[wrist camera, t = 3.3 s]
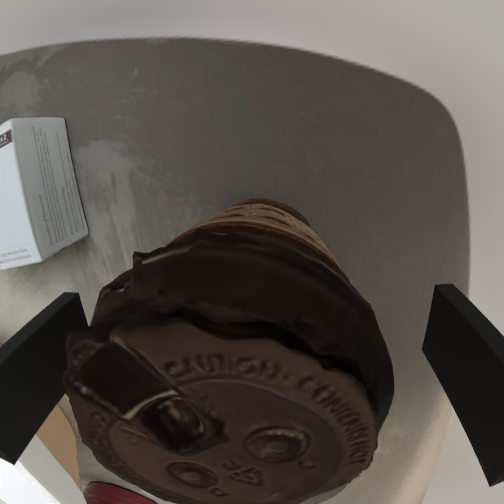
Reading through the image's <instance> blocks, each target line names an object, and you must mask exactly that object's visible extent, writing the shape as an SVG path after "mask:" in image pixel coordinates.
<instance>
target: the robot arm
mask: <svg viewBox="0 0 504 504" xmlns="http://www.w3.org/2000/svg"><path fill="white" fill-rule="evenodd" d="M86 327H88V323H87V320H86V317H85V313H84V310H83V307H82V303H81V300H80V296H79V293H72V292H64V293H63V294H61V295H60V296H59V297H58V298H57V299H55V300H54V301H53V302H52V303H51V304H49V305H48V306H47V307H46V308H45V309H43V310H42V311H41V312H40V313H39V314H38V315H36V316H35V317H34V318H33V319H32V320H31V321H29V322H28V323H27V324H26V325H25V326H24V327H23V328H21V329H20V330H19V331H18V332H17V333H16V334H15V335H14V336H12V337H11V338H10V339H9V340H8V341H7V342H6V343H5V344H4V345H2V346H1V347H0V458H1V459H3V460H5V461H7V462H9V463H11V464H12V465H15V464H16V462H17V461H18V459H19V458H20V456H21V455H22V453H23V452H24V450H25V449H26V447H27V446H28V444H29V443H30V441H31V440H32V439H33V437H34V436H35V434H36V433H37V431H38V430H39V429H40V427H41V426H42V424H43V423H44V421H45V420H46V419H47V417H48V416H49V414H50V413H51V412H52V410H53V409H54V408H55V406H56V405H57V403H58V402H59V401H60V399H61V398H62V397H63V395H64V394H65V388H64V386H63V384H62V379H63V375H64V372H65V371H66V369H67V366H68V363H67V356H66V341H67V336H68V332H69V329H71V330H74V331H77V332H79V331H81V330H82V329H84V328H86ZM422 351H423V353H424V354H425V356H426V358H427V360H428V362H429V363H430V365H431V367H432V369H433V370H434V372H435V374H436V376H437V378H438V380H439V381H440V383H441V385H442V387H443V389H444V391H445V393H446V395H447V396H448V398H449V400H450V402H451V404H452V406H453V408H454V410H455V412H456V414H457V416H458V418H459V420H460V422H461V424H462V426H463V428H464V430H465V432H466V434H467V437H468V439H469V441H470V443H471V445H472V447H473V449H474V452H475V454H476V456H477V458H478V460H479V463H480V465H481V467H482V469H483V472H484V474H485V476H486V479H487V481H488V484H489V486H490V487H491V486H494V485H496V484H498V483H500V482H503V481H504V336H503V335H502V334H501V333H500V332H499V331H498V330H497V329H496V328H495V327H494V325H493V324H492V323H491V322H490V321H489V320H488V319H487V318H486V317H485V316H484V315H483V314H482V313H481V312H480V311H479V310H478V309H477V307H476V306H475V305H473V303H472V302H471V301H470V300H469V299H468V298H467V297H466V296H465V295H464V294H463V293H462V292H461V291H460V290H459V289H457V288H456V287H455V286H454V285H453V284H441V285H435V287H434V293H433V299H432V304H431V309H430V315H429V319H428V324H427V329H426V333H425V338H424V342H423V346H422Z"/></svg>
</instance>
